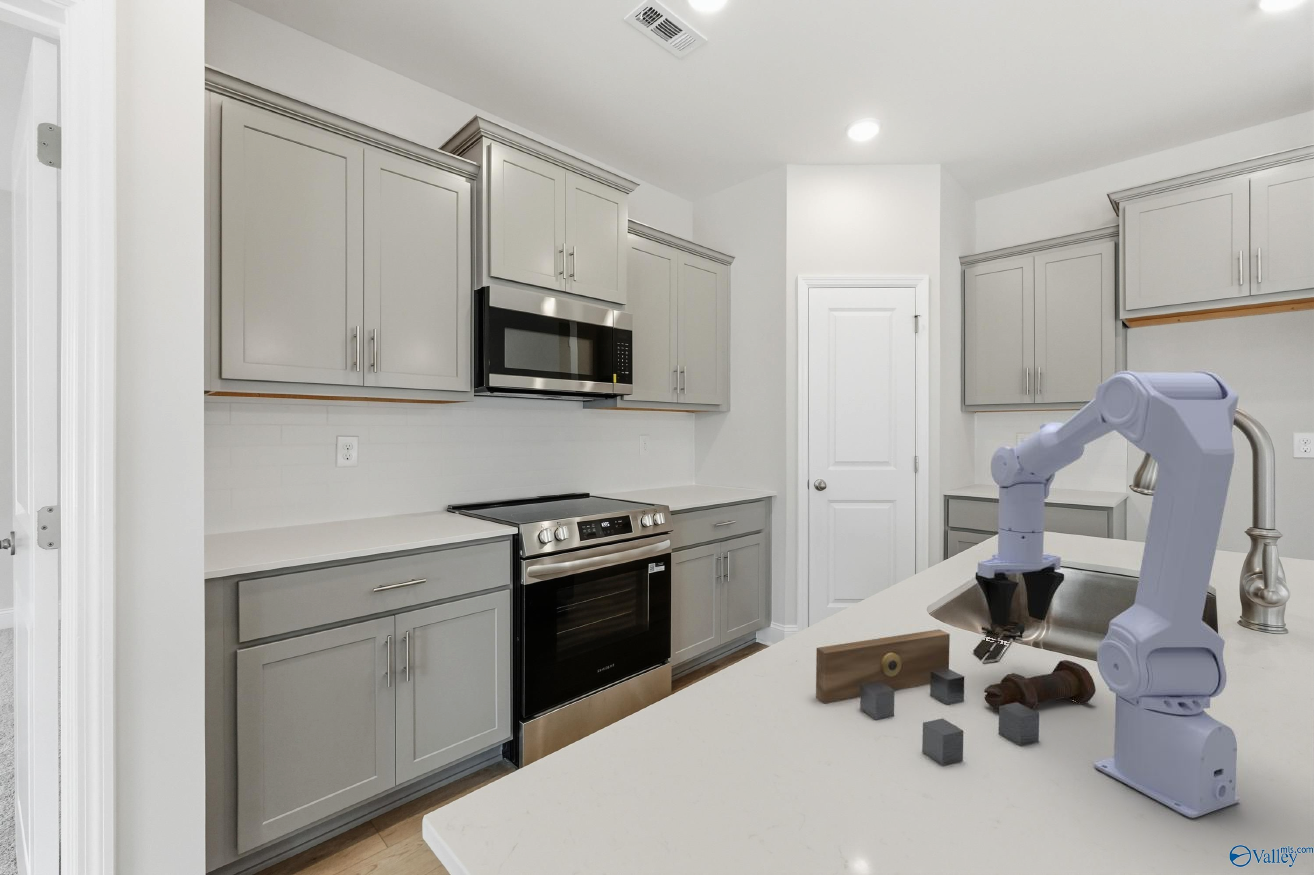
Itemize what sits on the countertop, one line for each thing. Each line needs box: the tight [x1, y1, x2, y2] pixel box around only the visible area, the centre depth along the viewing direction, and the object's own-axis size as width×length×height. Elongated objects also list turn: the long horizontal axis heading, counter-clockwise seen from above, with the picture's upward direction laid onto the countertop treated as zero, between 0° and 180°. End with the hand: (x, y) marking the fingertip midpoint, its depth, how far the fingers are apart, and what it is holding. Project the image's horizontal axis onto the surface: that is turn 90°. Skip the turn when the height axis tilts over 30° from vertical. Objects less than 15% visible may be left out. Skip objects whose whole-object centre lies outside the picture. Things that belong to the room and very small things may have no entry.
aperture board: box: [815, 629, 951, 705], centre depth 87 cm, size 3×22×7 cm, turn 110°
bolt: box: [983, 659, 1097, 711], centre depth 83 cm, size 6×5×15 cm
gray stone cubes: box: [859, 668, 1040, 767], centre depth 77 cm, size 14×15×4 cm
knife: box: [972, 617, 1026, 664], centre depth 106 cm, size 25×6×1 cm, turn 135°
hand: (1018, 621), depth 89 cm, fingers open, 7 cm apart
